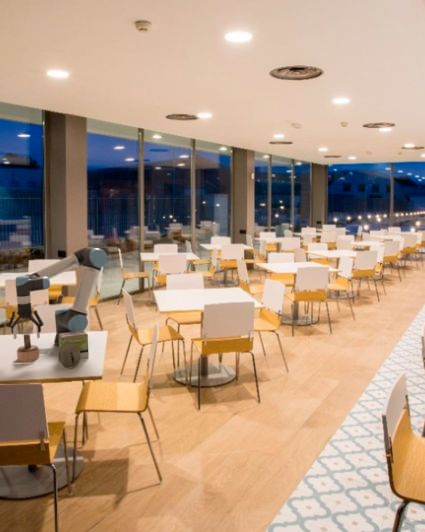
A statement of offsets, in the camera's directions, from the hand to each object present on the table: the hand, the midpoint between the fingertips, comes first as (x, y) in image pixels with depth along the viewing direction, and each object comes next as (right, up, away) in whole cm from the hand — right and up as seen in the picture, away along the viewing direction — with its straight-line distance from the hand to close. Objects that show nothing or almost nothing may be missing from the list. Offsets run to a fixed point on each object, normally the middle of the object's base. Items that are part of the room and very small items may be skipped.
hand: (26, 338), depth 322 cm
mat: (+3, -11, +15) cm, 18 cm away
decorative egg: (+30, -15, -15) cm, 36 cm away
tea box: (+27, -12, +2) cm, 30 cm away
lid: (0, -7, +1) cm, 7 cm away
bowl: (0, -13, +2) cm, 13 cm away
